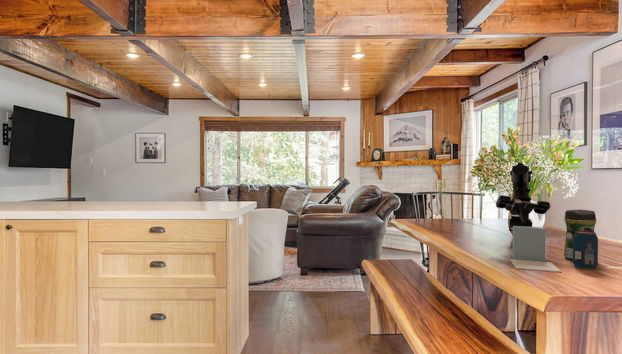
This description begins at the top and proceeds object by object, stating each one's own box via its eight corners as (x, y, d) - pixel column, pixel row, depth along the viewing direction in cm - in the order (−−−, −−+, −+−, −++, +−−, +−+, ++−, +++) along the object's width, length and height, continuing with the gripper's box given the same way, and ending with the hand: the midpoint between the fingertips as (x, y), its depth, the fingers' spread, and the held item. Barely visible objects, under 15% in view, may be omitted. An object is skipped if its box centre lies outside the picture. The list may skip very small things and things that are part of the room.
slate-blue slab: (512, 257, 149) (512, 225, 149) (542, 260, 146) (543, 227, 146) (513, 259, 146) (514, 227, 146) (544, 262, 142) (545, 228, 142)
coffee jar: (586, 257, 151) (586, 208, 151) (600, 262, 144) (601, 210, 143) (559, 257, 152) (560, 208, 152) (572, 261, 144) (573, 210, 144)
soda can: (582, 264, 139) (583, 230, 139) (602, 269, 132) (603, 233, 132) (567, 265, 137) (568, 231, 137) (587, 270, 130) (588, 233, 130)
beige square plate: (510, 260, 144) (510, 259, 144) (551, 263, 140) (551, 262, 140) (516, 268, 131) (516, 267, 131) (561, 272, 127) (561, 271, 127)
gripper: (536, 204, 169) (541, 236, 160) (490, 197, 172) (492, 228, 163) (548, 189, 160) (553, 222, 151) (499, 182, 163) (501, 214, 154)
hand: (524, 222), depth 155 cm, fingers closed
